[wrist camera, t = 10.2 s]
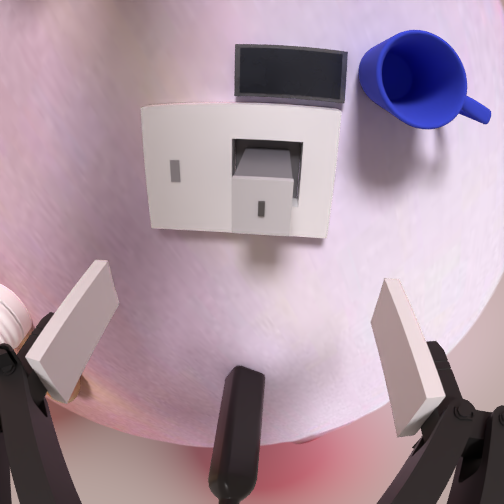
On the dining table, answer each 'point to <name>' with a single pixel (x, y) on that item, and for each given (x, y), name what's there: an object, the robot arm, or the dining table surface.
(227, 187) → the cabinet panel
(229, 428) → the wine bottle
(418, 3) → the dining table surface
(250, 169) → the plug
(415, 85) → the mug
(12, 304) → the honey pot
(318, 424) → the dining table surface
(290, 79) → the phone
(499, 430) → the robot arm
